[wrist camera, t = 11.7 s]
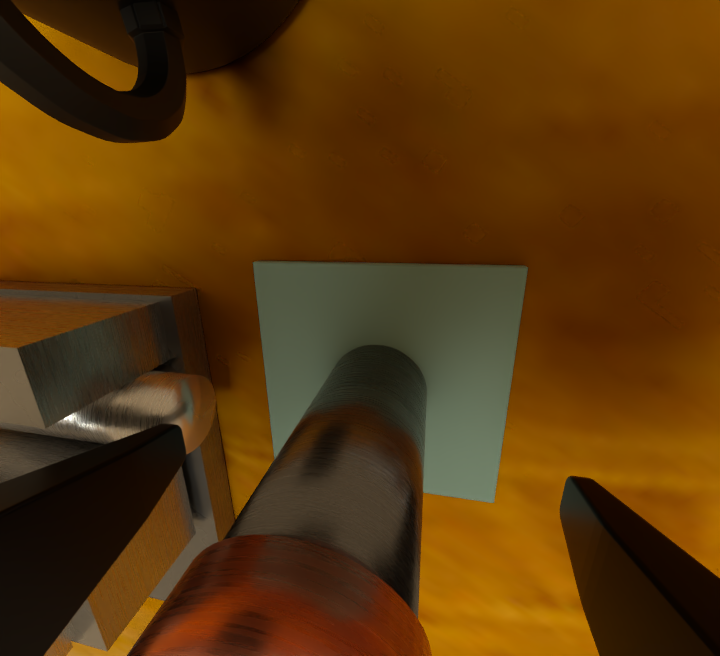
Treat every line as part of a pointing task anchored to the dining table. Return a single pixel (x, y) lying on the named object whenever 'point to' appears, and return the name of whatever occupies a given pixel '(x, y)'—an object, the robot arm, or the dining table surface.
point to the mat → (401, 349)
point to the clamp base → (117, 382)
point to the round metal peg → (319, 533)
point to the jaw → (135, 564)
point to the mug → (127, 56)
